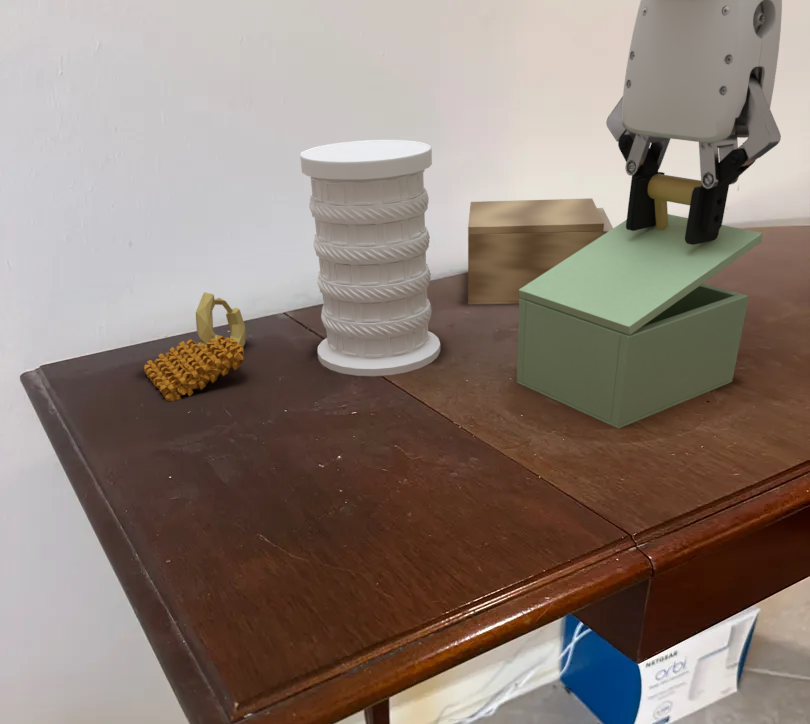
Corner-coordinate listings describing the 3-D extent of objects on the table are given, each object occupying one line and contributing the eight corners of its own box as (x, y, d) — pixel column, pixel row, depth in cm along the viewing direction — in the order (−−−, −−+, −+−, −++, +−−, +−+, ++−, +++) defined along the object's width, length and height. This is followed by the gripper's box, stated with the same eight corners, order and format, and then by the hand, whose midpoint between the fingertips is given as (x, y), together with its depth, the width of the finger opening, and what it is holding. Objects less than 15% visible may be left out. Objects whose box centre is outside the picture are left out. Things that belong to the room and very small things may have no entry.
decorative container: (300, 351, 79) (275, 149, 69) (405, 328, 83) (396, 134, 73) (348, 392, 71) (328, 168, 61) (463, 364, 75) (462, 150, 65)
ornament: (199, 357, 65) (265, 265, 75) (98, 374, 69) (173, 284, 79) (237, 424, 69) (295, 328, 79) (140, 436, 73) (206, 344, 83)
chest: (625, 350, 76) (635, 265, 72) (731, 388, 68) (749, 295, 64) (515, 388, 70) (519, 298, 65) (617, 435, 62) (628, 336, 57)
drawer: (633, 268, 94) (640, 206, 90) (648, 296, 86) (656, 229, 82) (489, 271, 96) (490, 210, 92) (489, 299, 87) (490, 233, 83)
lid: (643, 216, 70) (639, 158, 66) (762, 241, 61) (764, 177, 58) (519, 297, 65) (508, 240, 62) (629, 335, 57) (623, 271, 54)
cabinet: (586, 275, 96) (592, 198, 91) (596, 307, 86) (604, 223, 81) (470, 278, 97) (470, 201, 92) (468, 309, 87) (468, 226, 83)
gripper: (869, -59, 50) (796, 248, 60) (651, -44, 61) (621, 210, 71) (797, -61, 46) (732, 265, 56) (580, -45, 58) (559, 222, 68)
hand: (670, 232), depth 64 cm, fingers closed on lid, 5 cm apart
